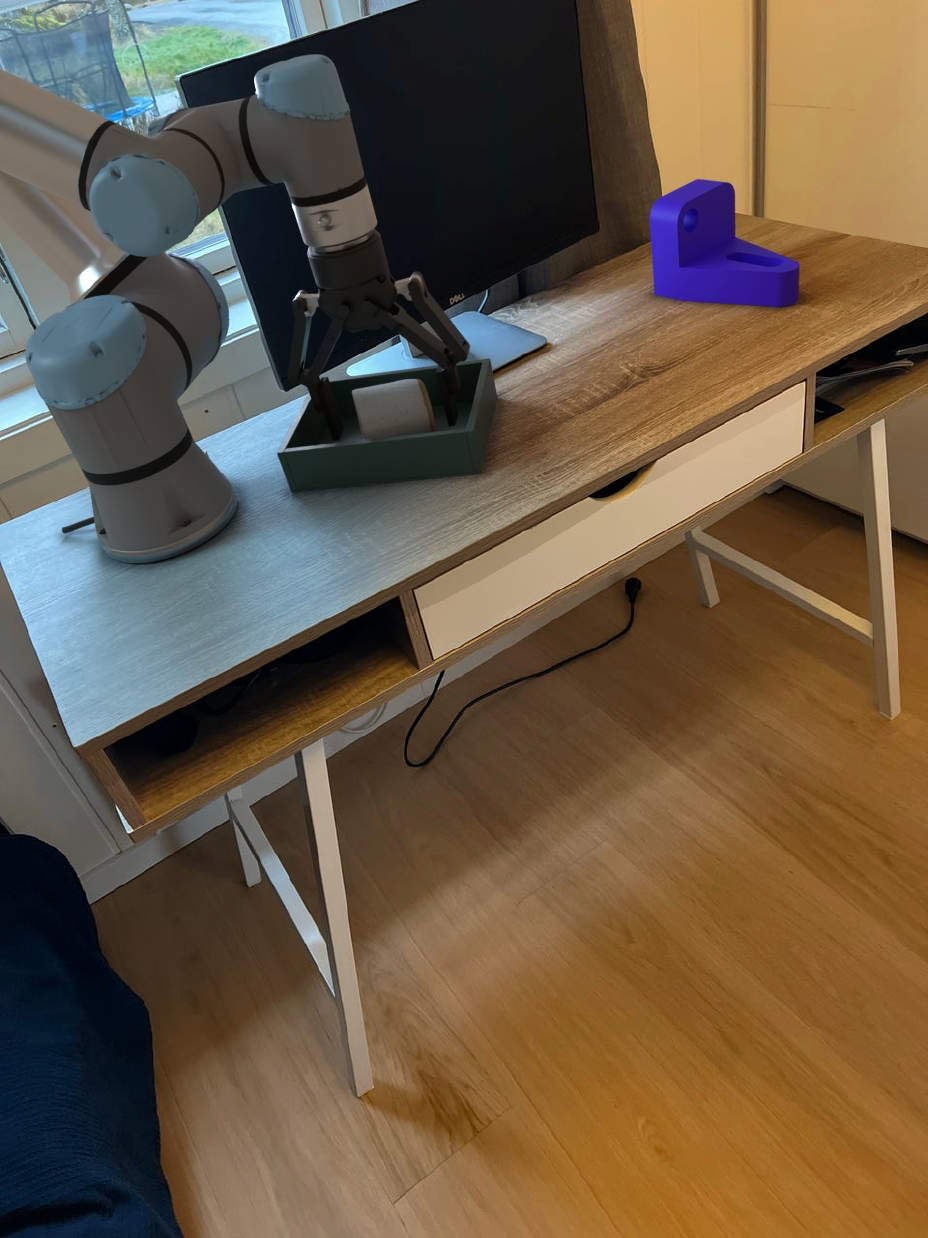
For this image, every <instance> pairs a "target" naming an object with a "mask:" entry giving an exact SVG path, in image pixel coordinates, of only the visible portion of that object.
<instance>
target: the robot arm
mask: <svg viewBox="0 0 928 1238" xmlns="http://www.w3.org/2000/svg"><path fill="white" fill-rule="evenodd" d="M253 82H254V87H255V93H254V94H253V95H251V96H247V97H245V98H240V99H234V100H229V101H224V102H218V103H213V104H208V105H202V106H197V107H196V106H195V107H192V108H189V107H182V108H178V109H177V110H175V111H173V112H170V113H167V114H164V115H163V114H162V115H160V116H156V117H154V118H153V119H152V120H151V121H150V122H149V124H148V125H147V130H146V131H147V134H146V135H144V134H142V133H141V132H137V131H135V130H133V129H131V128H128V127H126V126H124V125H121V124H119V123H117V122H115V121H113V120H111V119H109V118H106V117H104V116H102V115H100V114H98V113H96V112H95V111H92V110H90V109H88V108H85V107H83V106H81V105H79V104H76V103H75V102H73V101H70V100H68V99H66V98H64V97H62V96H60V95H57V94H55V93H54V92H51V91H49V90H47V89H45V88H42V87H41V86H38V85H36V84H35V83H32V82H30V81H28V80H26V79H23V78H22V77H19V76H18V75H15V74H13V73H10V72H9V71H6V70H4V69H3V68H0V220H1V221H2V222H3V223H4V224H5V225H6V226H7V227H8V228H9V229H10V230H11V231H12V232H13V233H14V234H15V235H16V236H17V237H18V238H19V239H20V240H21V241H22V242H23V243H24V244H25V245H26V246H27V247H28V248H29V249H30V250H31V251H32V252H33V253H35V255H36V256H37V257H38V258H39V259H40V260H41V261H42V262H43V263H44V264H45V265H46V266H47V267H48V268H49V269H50V270H51V271H52V272H53V273H54V274H55V275H56V276H57V277H58V278H59V279H60V280H61V281H62V282H63V283H64V284H65V285H66V286H67V289H68V294H69V295H68V296H69V305H66V306H65V309H64V310H62V311H58V312H54V313H52V314H51V315H49V317H47V318H46V319H45V320H44V321H42V322H41V323H40V324H39V325H38V326H37V327H36V328H35V329H34V330H33V332H32V333H31V335H30V336H29V338H28V340H27V342H26V345H25V349H24V358H25V362H26V365H27V367H28V370H29V372H30V374H31V377H32V378H33V382H34V386H35V389H36V391H37V394H38V395H39V396H40V399H42V400H43V402H44V404H45V405H46V407H47V409H48V411H49V413H50V415H51V416H52V418H53V420H54V422H55V424H56V426H57V427H58V429H59V431H60V433H61V435H62V437H63V439H64V441H65V442H66V444H67V446H68V447H69V450H70V451H71V453H72V455H73V457H74V459H75V460H76V463H77V464H78V466H79V467H80V469H81V471H82V473H83V475H84V477H85V479H86V481H87V483H88V486H89V493H90V499H91V507H92V514H93V516H91V517H88V518H86V519H83V520H79V521H77V522H74V523H72V524H70V525H66V526H63V527H62V528H61V532H62V533H63V534H68V533H71V532H74V531H78V530H79V529H81V528H84V527H87V526H90V525H94V529H95V533H96V535H97V539H98V541H99V542H100V545H101V547H102V548H103V550H104V552H105V553H106V555H108V557H110V558H111V559H114V560H116V561H118V562H122V563H128V564H145V563H152V562H159V561H163V560H167V559H170V558H174V557H176V556H179V555H182V554H184V553H187V552H189V551H191V550H193V549H195V548H197V547H199V546H201V545H203V544H204V543H206V542H207V541H209V540H211V539H212V538H213V537H215V536H216V534H218V533H220V531H222V530H223V529H224V528H225V527H226V526H227V524H228V523H229V522H230V521H231V520H232V519H233V516H234V514H235V513H236V511H237V506H238V498H237V495H236V492H235V490H234V488H233V485H232V484H231V482H230V480H229V479H228V478H227V476H226V474H224V473H223V472H222V471H221V470H220V469H219V468H218V467H217V466H216V464H215V463H214V462H213V461H212V460H211V458H210V456H209V454H208V451H204V450H202V448H201V447H200V446H199V445H198V444H197V443H196V441H195V439H194V438H193V435H192V433H191V431H190V428H189V425H188V423H187V421H186V418H185V417H184V414H183V412H182V409H181V407H180V405H179V401H178V400H179V399H180V398H181V397H182V395H184V393H185V392H186V391H187V390H188V389H189V387H190V386H191V385H192V383H194V381H195V380H196V379H197V378H198V377H199V375H200V374H201V373H202V371H203V370H204V369H205V368H207V367H208V366H209V365H210V364H211V363H213V361H215V359H216V357H217V356H218V354H219V351H220V350H221V347H222V345H223V344H224V343H225V341H226V338H227V336H228V332H229V328H230V309H229V304H228V300H227V297H226V295H225V292H224V290H223V287H222V286H221V284H220V283H219V281H218V280H217V278H216V277H215V275H213V273H212V272H211V271H210V270H209V269H208V268H207V267H206V266H204V265H203V264H202V263H201V262H200V261H198V260H196V259H194V258H192V257H190V256H187V255H186V256H182V255H181V254H179V253H174V252H169V253H167V251H169V250H170V249H172V248H173V247H175V246H176V245H178V244H181V243H182V242H184V241H185V240H187V239H188V238H189V237H190V235H192V234H193V233H194V230H195V229H196V227H197V226H198V225H200V224H201V222H202V221H204V220H205V219H206V218H207V217H208V216H209V215H211V214H212V213H214V212H215V211H216V210H217V209H218V208H220V207H221V206H222V205H223V203H225V202H226V201H227V200H228V199H229V198H230V197H232V196H233V195H234V194H236V193H239V192H242V191H247V190H251V189H258V188H263V187H269V186H270V187H271V186H275V185H278V184H283V183H284V185H285V188H286V190H287V193H288V196H289V199H290V202H291V206H292V209H293V212H294V215H295V218H296V219H295V220H296V222H297V225H298V229H299V231H300V234H301V235H300V236H301V238H302V241H303V243H304V245H306V246H308V250H307V251H306V255H307V259H308V261H309V265H310V268H311V271H312V274H313V277H314V281H315V284H316V286H317V289H318V293H308V291H306V290H303V289H302V290H301V289H300V290H299V291H298V292H297V294H296V295H295V297H294V299H293V300H292V302H291V307H292V313H293V318H294V326H293V334H292V341H291V346H290V347H291V348H290V354H289V361H288V368H287V374H286V381H287V383H288V384H289V385H291V386H295V385H302V386H304V387H306V389H307V391H308V393H309V394H310V397H311V400H312V403H313V406H314V409H315V410H316V411H317V413H318V412H324V415H325V418H326V421H327V424H328V427H329V430H330V433H331V436H332V439H333V441H335V440H339V439H340V437H341V435H342V432H343V430H344V425H343V422H342V419H341V416H340V413H339V409H338V406H337V403H336V400H335V397H334V394H333V391H332V388H331V385H330V381H329V379H330V378H329V376H323V377H321V375H322V372H323V370H324V368H325V366H326V365H327V362H328V360H329V358H330V356H331V353H332V351H333V349H334V347H335V346H336V343H337V342H338V339H339V337H340V335H341V333H342V331H343V329H344V330H345V331H348V332H350V333H351V334H356V333H357V334H358V333H360V332H362V331H363V330H365V331H366V330H368V331H376V330H380V328H381V327H383V326H384V327H386V328H387V329H388V330H390V331H391V332H393V333H397V334H398V335H399V336H401V337H402V338H403V339H405V340H406V341H407V342H409V343H410V345H412V346H413V347H415V348H416V349H418V351H420V352H421V353H423V354H424V355H425V356H426V357H428V358H429V359H430V360H431V361H432V362H434V363H435V364H436V365H438V367H437V370H436V376H437V380H438V385H439V389H440V393H441V397H442V401H443V405H444V410H445V414H446V418H447V422H448V426H449V427H450V426H455V425H456V421H457V417H458V410H457V406H456V401H455V397H454V395H456V394H458V393H459V389H460V384H461V383H460V379H459V374H458V370H457V365H456V364H457V363H459V362H466V361H467V360H468V356H469V353H470V349H471V345H470V342H469V341H468V340H467V339H466V338H465V336H464V334H462V332H461V331H460V330H459V329H458V327H457V326H456V325H455V324H454V323H453V321H452V319H451V318H450V317H449V316H448V315H447V313H446V312H445V310H443V308H442V307H441V305H440V304H439V303H438V302H437V301H436V299H435V298H434V297H433V296H432V294H431V293H430V291H429V290H428V287H427V285H426V281H425V279H424V276H423V274H422V273H421V272H420V271H414V272H413V273H412V274H411V276H410V277H406V278H402V279H399V280H396V279H394V277H393V276H392V274H391V272H390V267H389V263H388V259H387V256H386V251H385V248H384V243H383V239H382V236H381V233H380V231H378V230H377V229H376V227H377V225H378V220H377V216H376V212H375V207H374V204H373V201H372V197H371V194H370V190H369V186H368V182H367V178H366V175H365V171H364V168H363V164H362V163H363V162H362V159H361V155H360V150H359V147H358V142H357V138H356V134H355V130H354V126H353V125H354V124H353V122H352V121H353V120H352V117H351V109H350V105H349V103H348V101H347V99H346V96H345V92H344V89H343V86H342V83H341V81H340V77H339V73H338V71H337V67H336V66H335V63H334V62H333V61H332V59H330V58H329V57H328V56H326V55H324V54H306V55H300V56H296V57H292V58H290V59H286V60H281V61H278V62H274V63H272V64H269V65H267V66H265V67H263V68H261V69H259V70H258V71H257V72H256V73H255V76H254V81H253ZM398 295H403V297H404V298H405V300H407V301H408V302H409V301H410V302H412V303H413V306H414V307H415V309H416V310H417V312H418V313H419V314H420V315H421V317H422V318H423V319H424V320H425V321H426V322H427V324H428V325H429V326H430V328H431V329H432V331H433V332H435V334H436V335H437V336H438V337H437V336H435V334H433V333H432V332H431V331H430V330H428V329H427V328H426V327H424V326H423V325H422V324H420V323H419V322H418V321H417V320H415V319H414V318H413V317H412V316H411V315H409V314H408V313H407V310H406V309H404V307H402V306H401V305H400V304H398V303H397V302H396V300H397V297H398ZM317 308H319V309H320V310H322V312H323V313H325V314H326V315H327V316H328V317H329V318H331V319H332V321H331V323H330V325H329V327H328V330H327V331H326V333H325V336H324V338H323V340H322V342H321V344H320V346H319V348H318V351H317V353H316V355H315V358H314V359H313V361H312V363H311V366H310V368H309V369H308V368H305V364H306V363H305V362H306V355H307V352H308V351H307V350H308V343H309V338H310V337H309V336H310V331H311V325H312V318H313V316H314V315H315V314H316V312H317Z"/></svg>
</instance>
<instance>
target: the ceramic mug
mask: <svg viewBox="0 0 928 1238" xmlns="http://www.w3.org/2000/svg"><path fill="white" fill-rule="evenodd" d="M352 396H353V401H354V405H355V409H356V413H357V417H358V420H359V424H360V428H361V432H362V436H363V439H364V440H368V439H376V438H385V437H394V436H403V435H412V434H421V433H430V432H436V426H435V420H434V415H433V411H432V407H431V403H430V399H429V396H428V392H427V389H426V387H425V384H424V383H423V382H422V381H421V380H419V379H406V380H400V381H396V382H392V383H387V384H381V385H376V386H371V387H366V388H360V389H355V390H353V391H352Z"/></svg>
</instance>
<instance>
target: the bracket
mask: <svg viewBox="0 0 928 1238" xmlns="http://www.w3.org/2000/svg"><path fill="white" fill-rule="evenodd" d="M649 231H650V246H651V247H650V248H651V262H652V263H651V264H652V277H653V279H652V280H653V291H654V296H655V295H656V296H659V297H664V298H668V299H672V300H676V301H680V302H694V303H695V302H696V303H709V304H711V303H713V304H728V305H740V306H741V305H743V306H760V307H773V308H774V307H775V308H782V307H789V306H792V305H795V304H796V303H797V302H799V299H800V298H799V295H800V269H801V268H800V267H801V263H800V262H799V261H797V260H795V259H792V258H790V257H787V256H785V255H782V254H781V253H780V254H779V253H777V252H774V251H772V250H769V249H767V248H765V247H762V246H759V245H757V244H755V243H753V242H750V241H747V240H744V239H741V238H739V237H737V236H736V190H735V187H734V186H733V184H732V183H731V182H728V181H719V180H712V179H703V178H696V179H693V180H692V181H690V182H688V183H686V184H684V185H682V186H680V187H678V188H676V189H674V190H671V191H670V192H668V193H667V194H664V195H662V196H660V197H659V198H657V199H656V200H655V202H654V203H653V205H652V207H651V209H650V214H649Z"/></svg>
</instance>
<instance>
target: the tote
mask: <svg viewBox="0 0 928 1238" xmlns="http://www.w3.org/2000/svg"><path fill="white" fill-rule="evenodd" d="M456 365H457V370H458V374H459V379H460V383H461V384H460V389H459V393H458V394H456V395H454V397H455V401H456V406H457V410H458V417H457V421H456V425H455V426H450V427H449V426H448V422H447V418H446V414H445V410H444V405H443V401H442V397H441V393H440V389H439V385H438V380H437V376H436V370H437V367H438V364H436V365H435V364H434V365H428V366H427V365H426V366H421V367H420V366H419V367H413V368H412V367H411V368H405V369H404V368H403V369H397V370H389V371H382V372H373V373H367V374H365V373H364V374H358V375H351V376H350V375H349V376H343V377H342V376H341V377H335V378H334V377H333V378H329V381H330V385H331V388H332V391H333V394H334V397H335V400H336V403H337V406H338V409H339V413H340V416H341V419H342V422H343V425H344V430H343V432H342V435H341V437H340V439H339V440H335V441H333V439H332V436H331V433H330V430H329V427H328V424H327V421H326V418H325V415H324V412H318V413H317V411H316V410H315V409H314V406H313V403H312V400H311V397H310V394H309V392H308V393H307V395H306V397H305V398H304V400H303V403H302V404H301V405H300V408H299V410H298V412H297V414H296V416H295V417H294V420H293V421H292V424H291V425H290V427H289V428H288V430H287V432H286V435H285V437H284V438H283V440H282V442H281V444H280V446H279V448H278V450H277V451H276V455H277V457H278V460H279V463H280V465H281V468H282V471H283V473H284V476H285V479H286V481H287V485H288V487H289V490H290V493H298V492H299V493H300V492H309V491H320V490H327V489H328V490H330V489H338V488H339V489H340V488H349V487H358V486H359V487H361V486H368V485H369V486H370V485H379V484H388V483H389V484H390V483H398V482H408V481H417V480H429V479H437V478H447V477H448V478H449V477H458V476H467V475H469V476H470V475H477V474H483V469H484V466H485V461H486V457H487V451H488V447H489V441H490V436H491V432H492V427H493V421H494V416H495V412H496V407H497V403H498V393H497V388H496V383H495V377H494V372H493V366H492V362H491V358H489V357H488V358H484V359H474V360H465V361H464V362H459V363H457V364H456ZM406 379H419V380H421V381H422V382H423V383H424V384H425V387H426V389H427V392H428V396H429V399H430V403H431V407H432V411H433V415H434V420H435V426H436V432H430V433H421V434H412V435H403V436H394V437H385V438H376V439H368V440H364V439H363V436H362V432H361V428H360V424H359V420H358V417H357V413H356V409H355V405H354V401H353V396H352V391H353V390H355V389H360V388H366V387H371V386H376V385H381V384H387V383H392V382H396V381H400V380H406Z"/></svg>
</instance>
